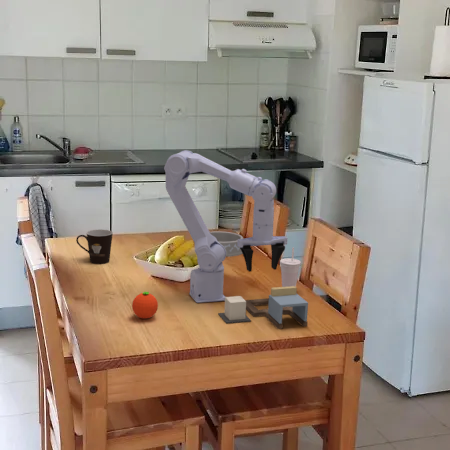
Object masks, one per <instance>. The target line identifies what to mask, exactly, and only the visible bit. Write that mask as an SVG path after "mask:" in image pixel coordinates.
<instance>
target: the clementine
mask: <svg viewBox="0 0 450 450" xmlns="http://www.w3.org/2000/svg"><path fill="white" fill-rule="evenodd" d="M131 307H132V311H133V313H134V314H135V315H136V316H137V317H138V318H139V319H150V318H152V317H154V316H155V314H156V313H157V312H158V309H159V302H158V299H157V298H156V296H154V295H153V294H151V293H150V292H149V291H144V292H141V293H139V294H138V295H136V296H134V299H133V301H132V305H131Z"/></svg>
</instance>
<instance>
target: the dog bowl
mask: <svg viewBox="0 0 450 450" xmlns="http://www.w3.org/2000/svg"><path fill="white" fill-rule="evenodd" d="M209 232H210V234H211V235H213V236H214V237H215V238H216V239H217V241H218V242H219V243H220V244H221V245H223V246H224V248H225V250H226V257H230V258H231V257H237V256H241V255H243V253H242V251H241V249H240V247H238V246H237V240H238V239H244V237H243V236H242V234H239V233H235V232H229V231H218V230H217V231H214V230H213V231H209Z"/></svg>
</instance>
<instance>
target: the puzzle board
mask: <svg viewBox="0 0 450 450" xmlns="http://www.w3.org/2000/svg"><path fill="white" fill-rule="evenodd" d="M244 300H245V301H246V311H247V312H248V313H249V314H250V315H251V316H252V317H253V318H257V317H265V318H266V319H267V320H268V321H270V322H271V324H272V325H274V327H276V328H277V330H281V329H283V322H282V323H280V324H279V323H278V322H277V321H276V320H275V319H274V318H273V317H272V316H271V315H270V314H269V313H268V308H263V309H258V308H257V306H259V307H260V306H268V304H269V297H267V298H255V299H244ZM292 308H293V307H283V312H282V315H290V316H291V318H293V319H294V320H295V321H296V322H297V323H299V324H300V325H301V326H302V327H303V328H304V327H308V320H307V321H304V320H302V319H301V318H300V317H299V316H298V315H297V314H296V313H294V312H293V311H292Z"/></svg>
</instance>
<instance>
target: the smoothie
mask: <svg viewBox="0 0 450 450" xmlns="http://www.w3.org/2000/svg"><path fill="white" fill-rule="evenodd" d="M291 249H292V250H291V258H282V259H279V265H280V272H281V273H280V274H281V287H289V286H295V287H296V288H297V281H298V276H299V272H300V267H301V265H302V261H301V260H299V259H296V258H295V257H294V256H295V247H292V248H291Z"/></svg>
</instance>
